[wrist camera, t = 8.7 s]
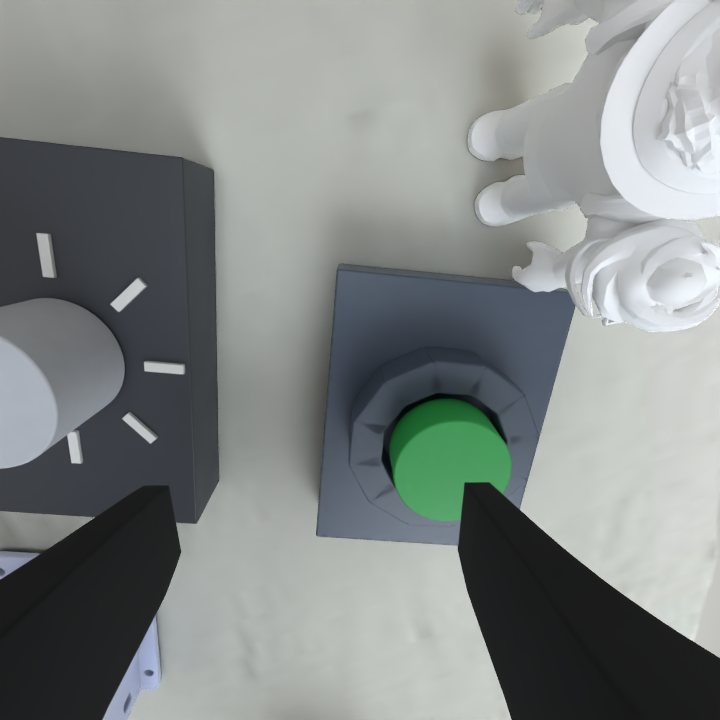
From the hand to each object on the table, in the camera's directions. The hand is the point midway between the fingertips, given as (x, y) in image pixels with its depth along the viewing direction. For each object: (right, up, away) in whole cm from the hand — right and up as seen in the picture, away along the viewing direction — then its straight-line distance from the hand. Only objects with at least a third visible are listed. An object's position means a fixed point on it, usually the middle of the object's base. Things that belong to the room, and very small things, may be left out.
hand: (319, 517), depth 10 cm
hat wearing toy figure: (+7, +11, +6) cm, 14 cm away
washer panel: (-10, +5, +7) cm, 13 cm away
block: (+4, +2, +9) cm, 10 cm away
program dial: (-10, +4, +5) cm, 11 cm away
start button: (+4, +1, +5) cm, 7 cm away
